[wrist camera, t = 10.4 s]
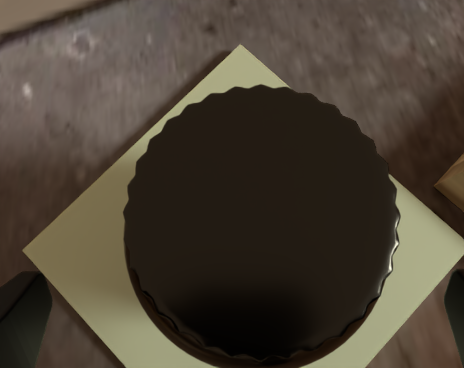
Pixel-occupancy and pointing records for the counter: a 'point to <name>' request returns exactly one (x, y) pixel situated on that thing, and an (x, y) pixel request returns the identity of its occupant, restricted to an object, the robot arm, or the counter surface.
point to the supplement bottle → (260, 228)
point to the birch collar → (453, 183)
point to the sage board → (121, 291)
